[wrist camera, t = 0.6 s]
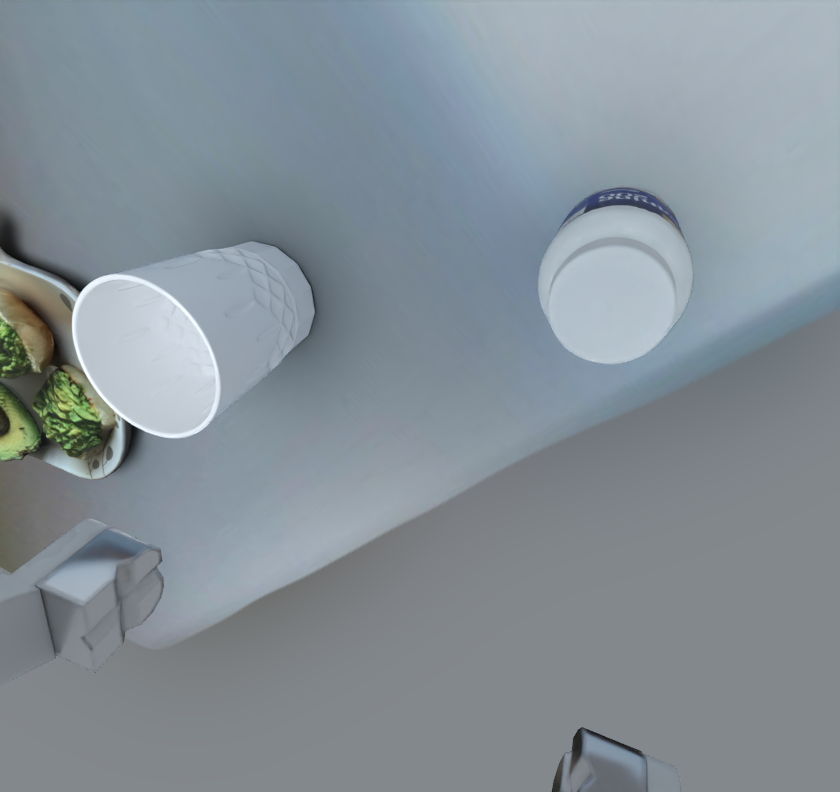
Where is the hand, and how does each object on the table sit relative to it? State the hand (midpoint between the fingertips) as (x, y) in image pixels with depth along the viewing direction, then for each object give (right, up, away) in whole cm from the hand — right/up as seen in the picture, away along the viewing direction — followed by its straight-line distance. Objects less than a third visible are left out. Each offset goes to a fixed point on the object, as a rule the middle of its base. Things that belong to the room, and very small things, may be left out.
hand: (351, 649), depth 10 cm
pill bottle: (+10, +12, +16) cm, 23 cm away
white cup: (-8, +11, +24) cm, 27 cm away
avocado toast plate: (-27, +7, +33) cm, 43 cm away
